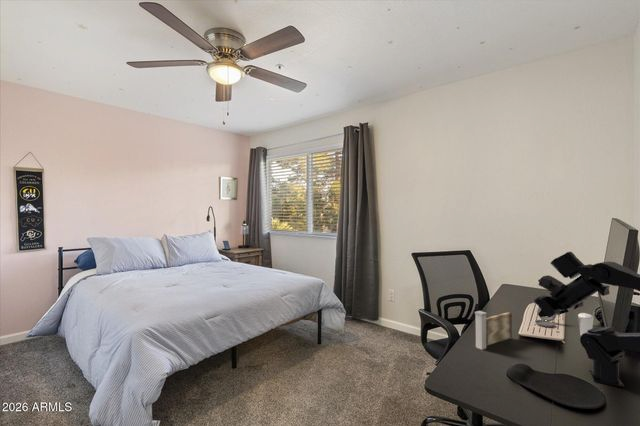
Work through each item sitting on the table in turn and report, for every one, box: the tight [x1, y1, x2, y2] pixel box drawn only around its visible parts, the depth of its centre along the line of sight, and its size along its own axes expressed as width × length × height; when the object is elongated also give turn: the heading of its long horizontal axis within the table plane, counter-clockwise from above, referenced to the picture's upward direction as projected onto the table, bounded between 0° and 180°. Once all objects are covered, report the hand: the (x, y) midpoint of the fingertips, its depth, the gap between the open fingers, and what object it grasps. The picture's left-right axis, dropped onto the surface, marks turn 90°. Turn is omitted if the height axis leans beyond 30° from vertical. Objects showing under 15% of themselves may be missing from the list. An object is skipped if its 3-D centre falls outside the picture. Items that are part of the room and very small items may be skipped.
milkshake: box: [577, 311, 596, 337], centre depth 119 cm, size 5×5×10 cm
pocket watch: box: [534, 306, 557, 328], centre depth 133 cm, size 8×8×10 cm
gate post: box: [474, 310, 488, 351], centre depth 111 cm, size 3×3×13 cm
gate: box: [486, 311, 513, 347], centre depth 115 cm, size 16×1×9 cm, turn 117°
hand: (539, 315), depth 105 cm, fingers closed
